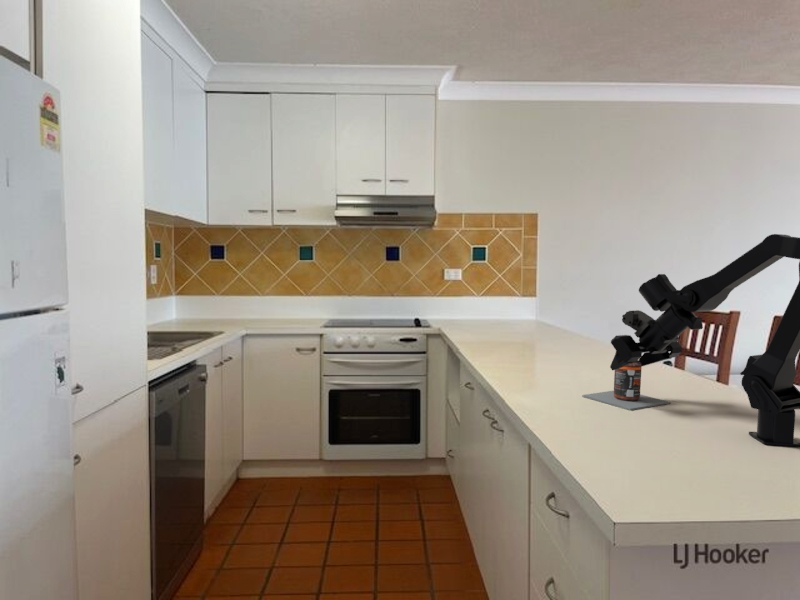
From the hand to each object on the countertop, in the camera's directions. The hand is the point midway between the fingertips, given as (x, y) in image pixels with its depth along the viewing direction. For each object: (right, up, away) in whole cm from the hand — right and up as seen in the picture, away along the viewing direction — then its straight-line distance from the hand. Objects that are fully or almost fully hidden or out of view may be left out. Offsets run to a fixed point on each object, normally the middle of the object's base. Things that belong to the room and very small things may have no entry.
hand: (624, 367), depth 132 cm
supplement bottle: (0, -8, 0) cm, 8 cm away
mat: (0, -8, 0) cm, 8 cm away
